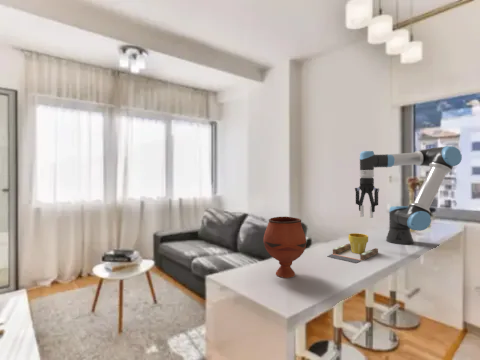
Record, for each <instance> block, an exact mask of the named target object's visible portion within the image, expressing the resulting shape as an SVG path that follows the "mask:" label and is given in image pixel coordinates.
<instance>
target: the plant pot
mask: <svg viewBox="0 0 480 360" xmlns="http://www.w3.org/2000/svg"><path fill="white" fill-rule="evenodd" d="M348 241H349V244H350V245H351V248H350V249H351V253H353V254H356V255H357V254H358V255H361V254H362V253H364V252H366V248H367V244H368V242H369V235H367V234H365V233H358V232H354V233H349V234H348Z"/></svg>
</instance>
